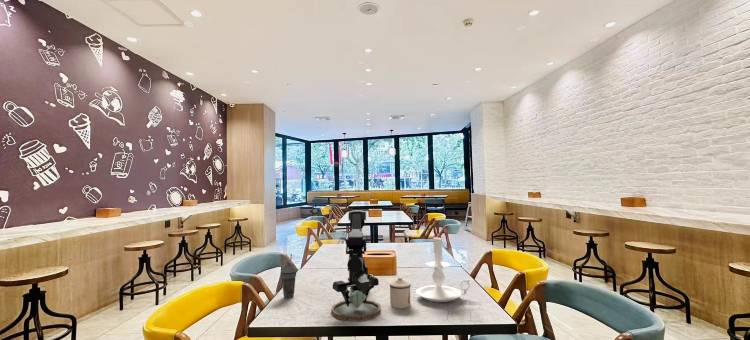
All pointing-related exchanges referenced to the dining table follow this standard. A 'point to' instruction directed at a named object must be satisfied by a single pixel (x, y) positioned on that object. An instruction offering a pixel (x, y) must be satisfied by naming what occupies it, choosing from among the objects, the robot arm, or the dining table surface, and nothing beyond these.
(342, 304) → the round tray
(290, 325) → the dining table surface
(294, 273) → the beverage cup
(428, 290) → the candlestick
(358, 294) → the grey-green angular piece
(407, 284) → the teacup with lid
